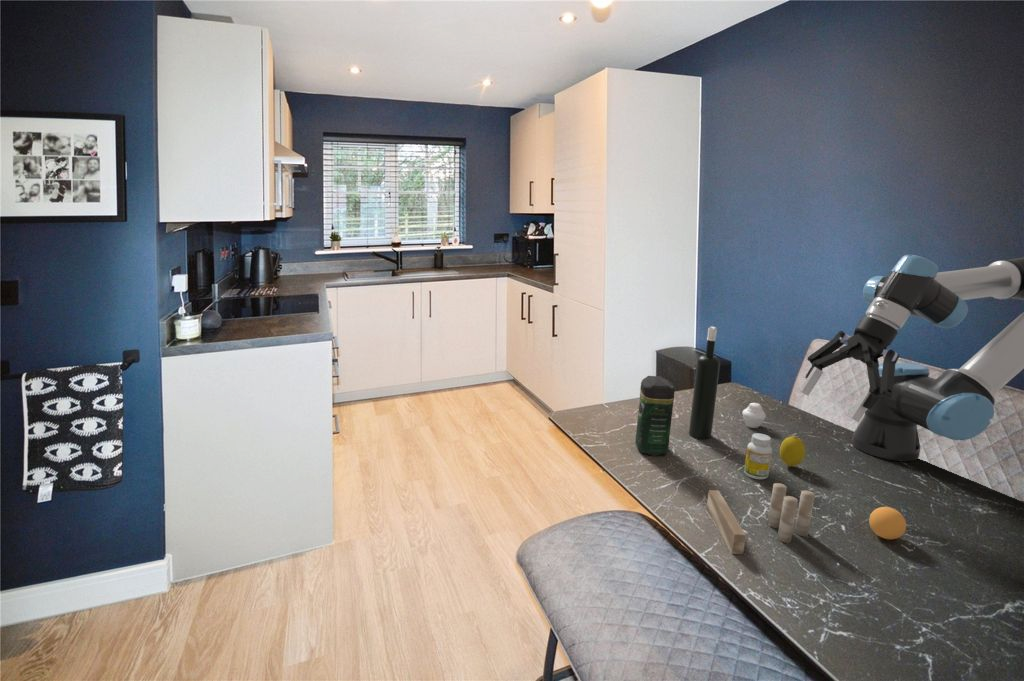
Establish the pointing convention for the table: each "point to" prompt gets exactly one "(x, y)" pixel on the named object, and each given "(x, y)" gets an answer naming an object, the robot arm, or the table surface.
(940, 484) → the table surface
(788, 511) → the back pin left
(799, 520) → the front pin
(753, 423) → the white tapered rounded part
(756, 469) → the supplement bottle
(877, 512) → the ball
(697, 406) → the wine bottle
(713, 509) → the back wall
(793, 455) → the lemon
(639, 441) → the coffee jar
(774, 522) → the back pin right
